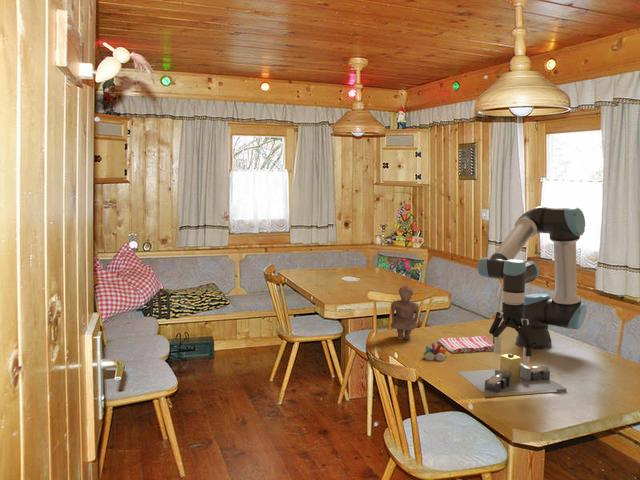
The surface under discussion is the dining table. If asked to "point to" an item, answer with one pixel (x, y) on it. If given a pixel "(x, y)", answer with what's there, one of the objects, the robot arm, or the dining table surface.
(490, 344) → the dish towel
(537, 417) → the dining table surface
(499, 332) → the robot arm
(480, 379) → the grey base plate
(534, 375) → the grey metal block
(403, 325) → the clay figurine
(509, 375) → the grey notched block
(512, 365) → the tan rectangular block
